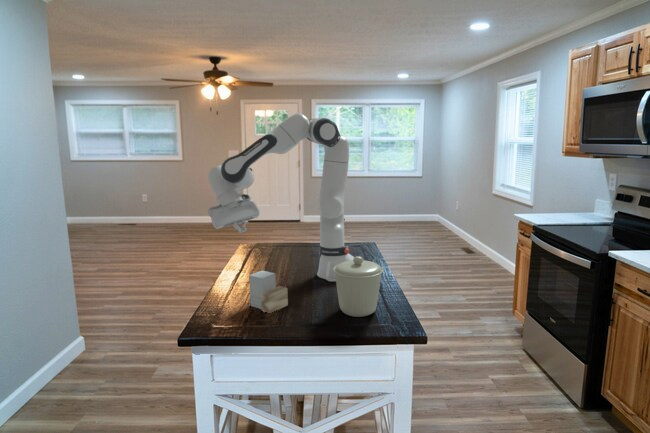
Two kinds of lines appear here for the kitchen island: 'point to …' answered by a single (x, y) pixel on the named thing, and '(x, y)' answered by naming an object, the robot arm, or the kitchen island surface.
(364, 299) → the canister
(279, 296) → the block
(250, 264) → the kitchen island surface
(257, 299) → the supplement box
